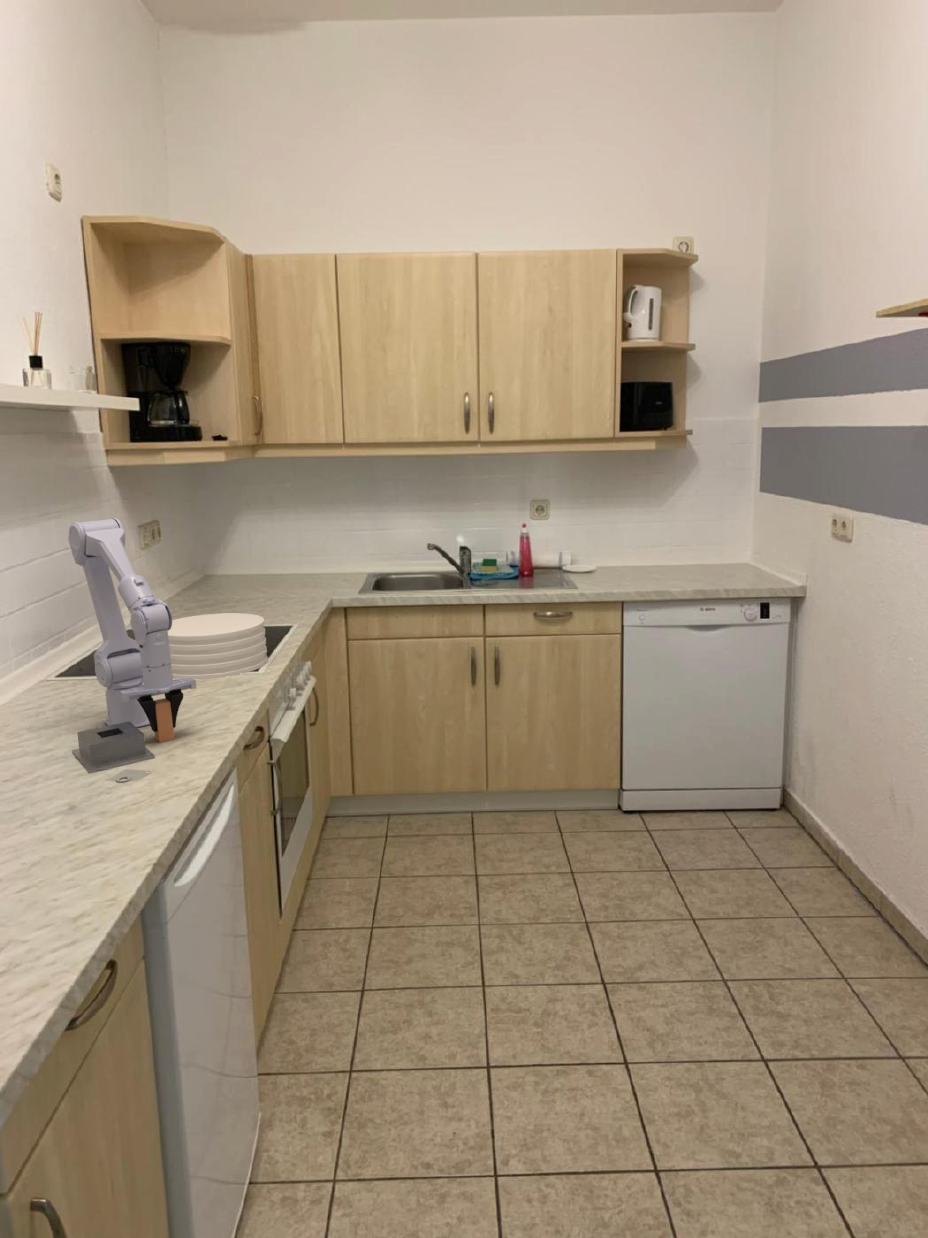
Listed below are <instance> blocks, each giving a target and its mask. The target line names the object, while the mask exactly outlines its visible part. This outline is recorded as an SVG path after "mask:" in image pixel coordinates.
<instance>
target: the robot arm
mask: <svg viewBox="0 0 928 1238" xmlns="http://www.w3.org/2000/svg"><path fill="white" fill-rule="evenodd" d="M125 531H126V530H125V528H124V524H123V523H122V522H121V521H120V519H118V518H117V517H112V518H110V519H100V520H90V521H81V522H78V521H74V522H72V523H71V524H70V526H69V530H68V542H69V546H70V551H71V554H72V557H73V560H74V563H75V564H77V565H79V566H81V567H82V568H83V571H84V575H85V579H86V583H87V587H88V590H89V592H90V593H89V594H90V597H91V601H92V605H93V608H94V611H95V615H96V619H97V622H98V626H99V629H100V633H101V636H102V640H103V642H102V643H101V645H99V647H98V648H97V649H96V650H95V652H94V654H93V660H94V673H95V676H96V680H97V681H98V683H99V684H100V685H101V686H102V687H103V688H106V690H105V703H106V708H107V718H105V719H103V722H104V723H105V724H106V726H109V725H114V724H119V723H124V722H128V721H130V722H131V723H132V724H133V725H134V726H135V727H137V728H140V727H145V726H149V725H150V728H151V730H152V732H153V733H154V732H157V731H158V726H157V720H156V702H155V700H154V698H153V697H154V696H155V697H156V696H159V695H164V697H165V698H166V699H167V700H169V701H170V704H171V713H172V722H173V729H174V728H176V727H177V726H176V725H177V718H178V714H179V713H178V712H179V709H180V706H181V704H182V701H183V700H184V693H183V692H182V691H184V690H195V689H197V682H196V680H195V679H194V678H186V679H174V678H173V675H172V666H171V657H170V648H169V639H168V630H170V629H171V627H172V620H173V615H172V611H171V609H170V608H169V606H168V604H167V603H165V602H164V601H162V599H160V598H157V597H156V595H155V594H154V592H153V590H152V588H151V586H150V585H149V583H148V582H147V580H146V578H145V577H144V576H143V575H139V574H137V573H136V571H135V569H134V566H133V564H132V561H131V559H130V557H129V555H128V553H127V550H126V548H125V546H126V532H125ZM111 572H112V574H113V575H114V576H115V578H116V579H117V580H118V582H119V584H118V586H117V591H118V593H119V595H120V597H121V599H122V601H123V603H124V604H125V606H126V608H127V609H128V611H129V613H130V620H129V622H130V626H131V629H132V632H133V634H134V638H135V639H133V638H131V637H129V636H128V631H127V628H126V625H125V621H124V617H123V614H122V611H121V610H122V609H121V607H120V603H119V600H118V595H117V592H116V589H115V585H114V581H113V578H112V574H111ZM110 655H111V656H110ZM165 698H164V699H165Z"/></svg>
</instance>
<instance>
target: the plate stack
mask: <svg viewBox="0 0 928 1238" xmlns="http://www.w3.org/2000/svg"><path fill="white" fill-rule="evenodd" d="M265 624H266V623H265V618H264V617H263V616H261V615H257V614H254V613H253V614H252V613H243V612H241V613H240V612H225V613H223V612H220V613H208V614H197V615H193V616H191V615H190V616H185V617H181V618H176V619H175V618H174V619H172V627H171V629H170V630H168V639H169V648H170V657H171V666H172V675H173V679H174V678H180V679H186V678H194V679H200V680H212V679H211V678H214V679H221V678H220V677H222V678H227V677H226V676H229V677H232V676H231V675H234V676H237V675H236V674H239V675H241V674H240V673H243V674H246V673H250V672H254V671H256V670H258V669H261V668H262V667H263V666H266V664H267V663H268V662H269V661H268V655H267V653H268V650H267V649H268V648H267V645H266V644H267V637H266V627H264V626H265Z"/></svg>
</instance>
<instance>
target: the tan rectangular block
mask: <svg viewBox="0 0 928 1238" xmlns="http://www.w3.org/2000/svg"><path fill="white" fill-rule="evenodd" d="M154 701H155V702H156V720H157V726H158V731H157V732H154V731H153V733H154V739H155V740H156V741H157V742H158V743H164V742H167V741H171V740H175V731H174V728H173V722H172V713H171V704H170V701H169V700H167V699H166V698H161V699H155V700H154Z"/></svg>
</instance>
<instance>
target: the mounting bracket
mask: <svg viewBox="0 0 928 1238" xmlns="http://www.w3.org/2000/svg"><path fill="white" fill-rule="evenodd" d="M146 772H149V773H150V772H151V773H152V771H151V770H144V769H131V768H127V769H123V770H122V771H120V772H118V773H116V774H115V775H113V776H112V777H110V778H108V779H107V780H106V782H115V783H116V784H117V783H118V784H126V783H128V782H139V781H140V780H142V779H143V778H145V777H147V776H148V775H149V773H146ZM151 773H150V774H151ZM138 780H139V781H138Z"/></svg>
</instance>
